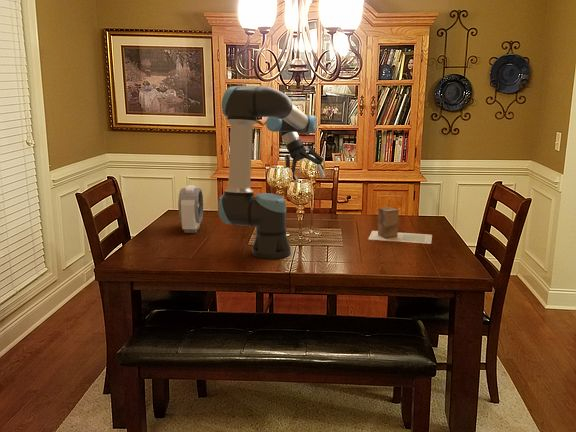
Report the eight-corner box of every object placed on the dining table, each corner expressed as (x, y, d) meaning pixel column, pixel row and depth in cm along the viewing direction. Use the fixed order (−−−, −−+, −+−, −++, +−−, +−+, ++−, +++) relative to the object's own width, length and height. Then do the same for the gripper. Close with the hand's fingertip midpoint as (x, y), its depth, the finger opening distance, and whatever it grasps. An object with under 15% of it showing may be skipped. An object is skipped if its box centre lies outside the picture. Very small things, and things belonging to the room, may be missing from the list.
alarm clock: (198, 235, 256) (196, 189, 251) (178, 235, 256) (176, 189, 251) (204, 224, 274) (203, 182, 269) (186, 224, 274) (184, 182, 269)
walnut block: (397, 236, 250) (398, 209, 247) (385, 238, 247) (386, 211, 245) (389, 233, 255) (390, 206, 252) (377, 235, 253) (378, 208, 250)
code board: (431, 245, 240) (431, 243, 240) (367, 240, 247) (368, 239, 247) (432, 236, 253) (432, 234, 253) (372, 232, 260) (372, 230, 260)
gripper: (311, 134, 281) (330, 174, 281) (267, 153, 272) (286, 194, 272) (317, 130, 274) (336, 171, 274) (272, 148, 265) (292, 191, 265)
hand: (312, 182), depth 273 cm, fingers open, 13 cm apart
